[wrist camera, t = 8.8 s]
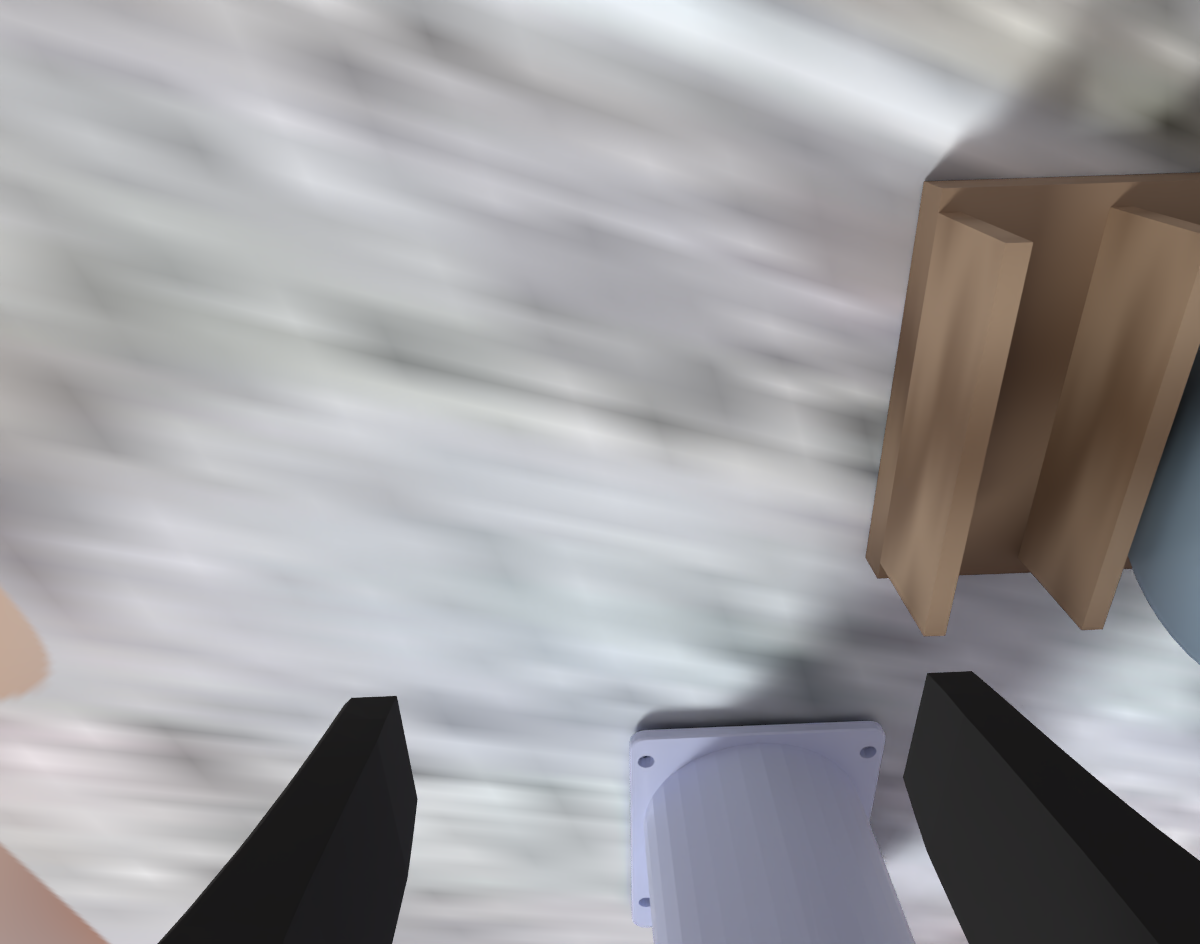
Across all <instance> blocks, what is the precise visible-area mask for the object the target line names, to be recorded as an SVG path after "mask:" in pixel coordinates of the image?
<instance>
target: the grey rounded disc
mask: <svg viewBox="0 0 1200 944" xmlns="http://www.w3.org/2000/svg"><path fill="white" fill-rule="evenodd" d="M1128 558H1129V560H1130V563H1131V566H1132V568H1133V571H1134V573H1135V576H1136V579H1137V581H1138V583H1139V585H1140V587H1141V589H1142V591H1143V593H1144V595H1145V597H1146V599H1147V601H1148V603H1149V604H1150V606H1151V607H1152V609H1153V611H1154V612H1155V614H1156V616H1157V617H1158V619H1159V620H1160V622H1161V623H1162V624H1163V626H1164V627H1165V628H1166V630H1167V631H1168V632H1169V634H1170V635H1171V636H1172V638H1173V639H1174V640H1175V641H1176V642H1177V643H1178V644H1179V645H1180V646H1181V647H1182V648H1183V650H1184V651H1185V652H1186V653H1187V654H1188V655H1189V656H1190V657H1191V658H1193V659H1194V660H1195V661H1196V662H1197V663H1198V664H1199V665H1200V344H1199V347H1198V350H1197V353H1196V356H1195V359H1194V362H1193V365H1192V368H1191V371H1190V374H1189V377H1188V380H1187V383H1186V386H1185V389H1184V391H1183V394H1182V397H1181V400H1180V403H1179V406H1178V409H1177V412H1176V415H1175V418H1174V421H1173V424H1172V427H1171V430H1170V433H1169V436H1168V438H1167V441H1166V444H1165V447H1164V450H1163V453H1162V456H1161V459H1160V462H1159V465H1158V468H1157V471H1156V474H1155V477H1154V480H1153V483H1152V486H1151V488H1150V491H1149V494H1148V497H1147V500H1146V503H1145V506H1144V509H1143V512H1142V515H1141V518H1140V521H1139V524H1138V527H1137V530H1136V533H1135V535H1134V538H1133V541H1132V544H1131V547H1130V550H1129V553H1128Z"/></svg>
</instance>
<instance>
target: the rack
mask: <svg viewBox="0 0 1200 944" xmlns="http://www.w3.org/2000/svg"><path fill="white" fill-rule="evenodd" d="M1199 344H1200V172H1197V173H1166V174H1135V175H1105V176H1074V177H1044V178H1013V179H983V180H952V181H924V185H923V191H922V197H921V204H920V210H919V217H918V223H917V230H916V236H915V242H914V249H913V255H912V262H911V268H910V275H909V281H908V287H907V294H906V300H905V307H904V313H903V320H902V326H901V333H900V339H899V345H898V352H897V358H896V365H895V371H894V378H893V384H892V390H891V397H890V403H889V410H888V416H887V423H886V429H885V435H884V442H883V448H882V455H881V461H880V468H879V474H878V480H877V487H876V493H875V500H874V506H873V513H872V519H871V525H870V532H869V538H868V545H867V551H866V559H867V561H868V563H869V565H870V566H871V568H872V570H873V572H874V573H875V575H876V577H877V578H889V579H890V581H891V582H892V584H893V586H894V587H895V589H896V591H897V592H898V594H899V596H900V597H901V599H902V601H903V602H904V604H905V606H906V607H907V609H908V611H909V612H910V614H911V616H912V617H913V619H914V621H915V622H916V624H917V626H918V627H919V629H920V631H921V632H922V634H923V636H945V634H946V630H947V625H948V621H949V616H950V612H951V607H952V603H953V599H954V594H955V590H956V585H957V581H958V576H959V575H980V574H1005V573H1030V572H1031V573H1032V574H1033V575H1034V577H1035V578H1036V579H1037V580H1038V581H1039V582H1040V583H1041V585H1042V586H1043V587H1044V588H1045V589H1046V590H1047V591H1048V593H1049V594H1050V595H1051V596H1052V597H1053V598H1054V599H1055V601H1056V602H1057V603H1058V604H1059V605H1060V606H1061V607H1062V609H1063V610H1064V611H1065V612H1066V613H1067V614H1068V615H1069V617H1070V618H1071V619H1072V620H1073V621H1074V622H1075V623H1076V625H1077V626H1078V627H1079V628H1080V629H1081V630H1095V629H1103V627H1104V624H1105V621H1106V618H1107V615H1108V612H1109V609H1110V606H1111V603H1112V600H1113V597H1114V594H1115V591H1116V588H1117V585H1118V582H1119V580H1120V577H1121V574H1122V571H1123V569H1132V566H1131V563H1130V560H1129V558H1128V553H1129V550H1130V547H1131V544H1132V541H1133V538H1134V535H1135V533H1136V530H1137V527H1138V524H1139V521H1140V518H1141V515H1142V512H1143V509H1144V506H1145V503H1146V500H1147V497H1148V494H1149V491H1150V488H1151V486H1152V483H1153V480H1154V477H1155V474H1156V471H1157V468H1158V465H1159V462H1160V459H1161V456H1162V453H1163V450H1164V447H1165V444H1166V441H1167V438H1168V436H1169V433H1170V430H1171V427H1172V424H1173V421H1174V418H1175V415H1176V412H1177V409H1178V406H1179V403H1180V400H1181V397H1182V394H1183V391H1184V389H1185V386H1186V383H1187V380H1188V377H1189V374H1190V371H1191V368H1192V365H1193V362H1194V359H1195V356H1196V353H1197V350H1198V347H1199Z"/></svg>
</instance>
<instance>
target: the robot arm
mask: <svg viewBox="0 0 1200 944" xmlns="http://www.w3.org/2000/svg"><path fill="white" fill-rule="evenodd" d="M885 740H886V737H885V733H884V731H883V728H882V727H881V725H880V724H879V723H877V722H875V721H850V722H826V723H802V724H778V725H754V726H730V727H706V728H682V729H658V730H643V731H639V732H637V733H635V734H634V735H633V736H632V737H631V738H630V742H629V748H630V824H631V900H632V920H633V922H634V923H635V924H636V925H637V926H640V927H652V929H653V940H654V944H915V941H914V938H913V936H912V933H911V931H910V928H909V925H908V923H907V920H906V917H905V915H904V912H903V910H902V907H901V904H900V902H899V899H898V897H897V894H896V891H895V889H894V886H893V883H892V881H891V878H890V876H889V873H888V870H887V868H886V865H885V863H884V860H883V857H882V855H881V852H880V849H879V847H878V844H877V842H876V839H875V836H874V834H873V831H872V829H871V826H870V823H869V822H870V817H871V812H872V807H873V801H874V796H875V791H876V786H877V781H878V776H879V771H880V765H881V760H882V755H883V750H884V745H885ZM868 746H869V747H868ZM864 747H868V748H864ZM863 748H864V749H863ZM643 756H650V757H647V758H642V757H643ZM903 778H904V782H905V785H906V788H907V791H908V794H909V798H910V801H911V804H912V807H913V811H914V814H915V817H916V820H917V823H918V826H919V829H920V832H921V835H922V838H923V841H924V844H925V847H926V850H927V852H928V855H929V857H930V859H931V861H932V864H933V866H934V868H935V871H936V873H937V875H938V877H939V879H940V882H941V884H942V886H943V888H944V890H945V893H946V895H947V897H948V899H949V901H950V904H951V906H952V908H953V910H954V912H955V915H956V917H957V919H958V921H959V923H960V925H961V928H962V930H963V932H964V934H965V936H966V938H967V940H968V943H969V944H1200V861H1199V860H1198V859H1197V858H1195V857H1194V856H1193V855H1191V854H1190V853H1189V852H1187V851H1186V850H1185V849H1183V848H1182V847H1181V846H1180V845H1178V844H1177V843H1176V842H1174V841H1173V840H1172V839H1170V838H1169V837H1168V836H1167V835H1165V834H1164V833H1163V832H1161V831H1160V830H1159V829H1157V828H1156V827H1155V826H1154V825H1152V824H1151V823H1150V822H1149V821H1147V820H1146V819H1145V818H1144V817H1142V816H1141V815H1140V814H1139V813H1137V812H1136V811H1135V810H1134V809H1132V808H1131V807H1130V806H1129V805H1127V804H1126V803H1125V802H1124V801H1123V800H1121V799H1120V798H1119V797H1118V796H1116V795H1115V794H1114V793H1113V792H1112V791H1110V790H1109V789H1108V788H1107V787H1106V786H1104V785H1103V784H1102V783H1101V782H1100V781H1098V780H1097V779H1096V778H1095V777H1094V776H1092V775H1091V774H1090V773H1089V772H1088V771H1086V770H1085V769H1084V768H1083V767H1082V766H1081V765H1079V764H1078V763H1077V762H1076V761H1075V760H1074V759H1072V758H1071V757H1070V756H1069V755H1068V754H1067V753H1065V752H1064V751H1063V750H1062V749H1061V748H1060V747H1058V746H1057V745H1056V744H1055V743H1054V742H1053V741H1052V740H1050V739H1049V738H1048V737H1047V736H1046V735H1045V734H1044V733H1042V732H1041V731H1040V730H1039V729H1038V728H1037V727H1035V726H1034V725H1033V724H1032V723H1031V722H1030V721H1029V720H1027V719H1026V718H1025V717H1024V716H1023V715H1022V714H1021V713H1020V712H1018V711H1017V710H1016V709H1015V708H1014V707H1013V706H1012V705H1010V704H1009V703H1008V702H1007V701H1006V700H1005V699H1004V698H1002V697H1001V696H1000V695H999V694H998V693H997V692H996V691H994V690H993V689H992V688H991V687H990V686H989V685H987V684H986V683H985V682H984V681H983V680H982V679H980V678H979V677H978V676H977V675H976V674H974V673H973V672H972V671H967V672H944V673H927V677H926V681H925V685H924V690H923V694H922V698H921V703H920V707H919V711H918V716H917V720H916V724H915V729H914V733H913V737H912V742H911V746H910V750H909V755H908V759H907V763H906V768H905V772H904V776H903ZM416 807H417V795H416V790H415V785H414V780H413V775H412V770H411V765H410V760H409V755H408V750H407V745H406V740H405V735H404V730H403V725H402V720H401V715H400V710H399V705H398V700H397V696H386V697H363V698H351V699H350V700H349V701H348V702H347V703H346V704H345V705H344V706H343V708H342V709H341V711H340V712H339V713H338V715H337V716H336V718H335V719H334V721H333V722H332V724H331V725H330V727H329V728H328V729H327V731H326V732H325V734H324V735H323V737H322V738H321V740H320V741H319V742H318V744H317V745H316V747H315V748H314V750H313V751H312V752H311V754H310V755H309V757H308V758H307V759H306V761H305V762H304V764H303V765H302V766H301V768H300V769H299V770H298V772H297V773H296V775H295V776H294V777H293V779H292V780H291V781H290V783H289V784H288V786H287V787H286V788H285V790H284V791H283V792H282V794H281V795H280V796H279V797H278V799H277V800H276V801H275V803H274V804H273V805H272V807H271V808H270V809H269V811H268V812H267V813H266V815H265V816H264V817H263V818H262V820H261V821H260V822H259V824H258V825H257V826H256V828H255V829H254V830H253V832H252V833H251V834H250V835H249V837H248V838H247V839H246V840H245V842H244V843H243V844H242V846H241V847H240V848H239V849H238V851H237V852H236V853H235V854H234V855H233V857H232V858H231V859H230V860H229V861H228V863H227V864H226V865H225V866H224V867H223V868H222V870H221V871H220V872H219V873H218V874H217V876H216V877H215V878H214V879H213V880H212V882H211V883H210V884H209V885H208V886H207V888H206V889H205V890H204V891H203V892H202V894H201V895H200V896H199V897H198V898H197V900H196V901H195V902H194V903H193V904H192V906H191V907H190V908H189V909H188V910H187V911H186V912H185V914H184V915H183V916H182V917H181V918H180V919H179V920H178V922H177V923H176V924H175V925H174V926H173V927H172V928H171V929H170V930H169V932H168V933H167V934H166V935H165V936H164V937H163V938H162V939H161V940H160V942H159V943H158V944H392V941H393V937H394V933H395V929H396V924H397V920H398V916H399V912H400V907H401V903H402V899H403V895H404V890H405V886H406V882H407V877H408V870H409V863H410V856H411V848H412V841H413V832H414V824H415V816H416Z"/></svg>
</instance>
